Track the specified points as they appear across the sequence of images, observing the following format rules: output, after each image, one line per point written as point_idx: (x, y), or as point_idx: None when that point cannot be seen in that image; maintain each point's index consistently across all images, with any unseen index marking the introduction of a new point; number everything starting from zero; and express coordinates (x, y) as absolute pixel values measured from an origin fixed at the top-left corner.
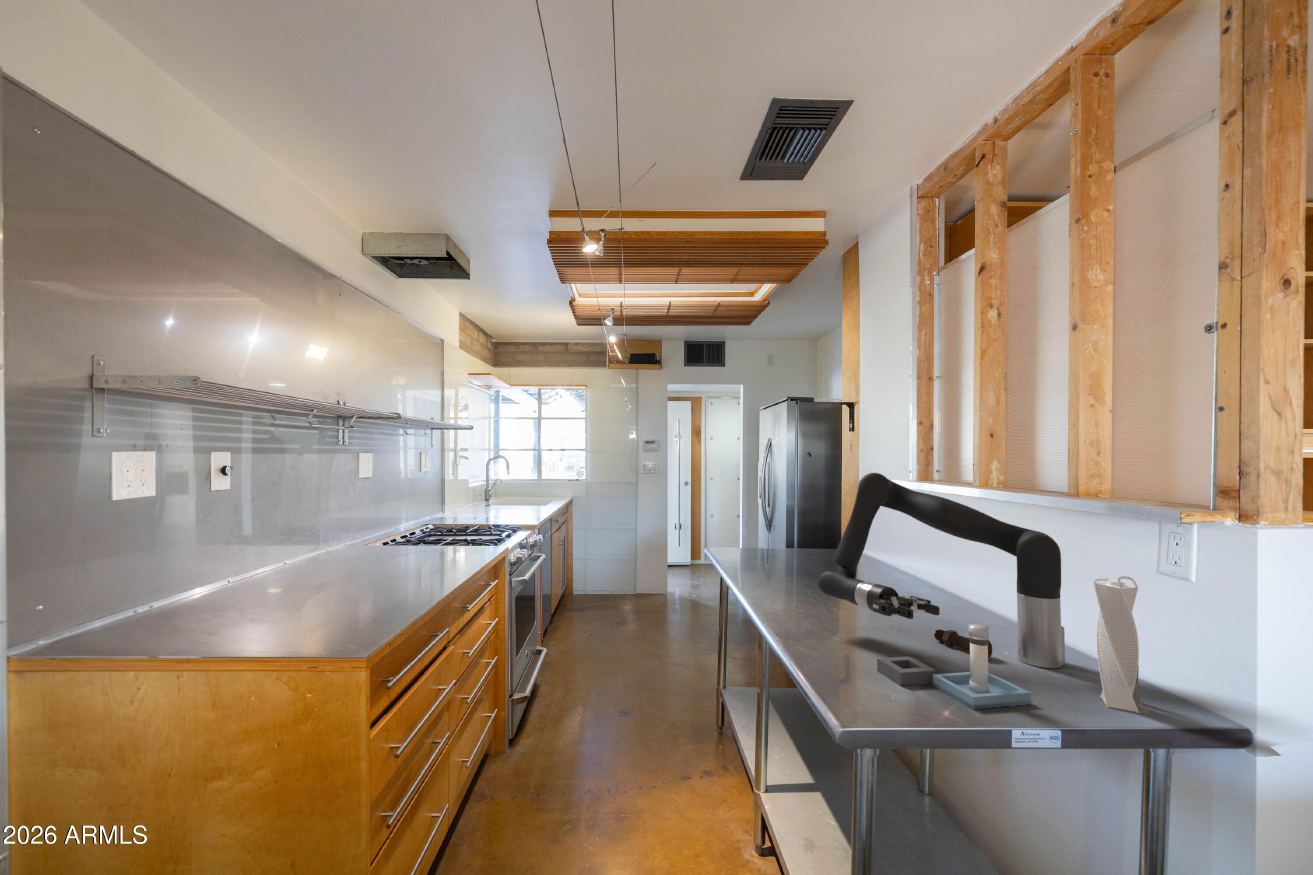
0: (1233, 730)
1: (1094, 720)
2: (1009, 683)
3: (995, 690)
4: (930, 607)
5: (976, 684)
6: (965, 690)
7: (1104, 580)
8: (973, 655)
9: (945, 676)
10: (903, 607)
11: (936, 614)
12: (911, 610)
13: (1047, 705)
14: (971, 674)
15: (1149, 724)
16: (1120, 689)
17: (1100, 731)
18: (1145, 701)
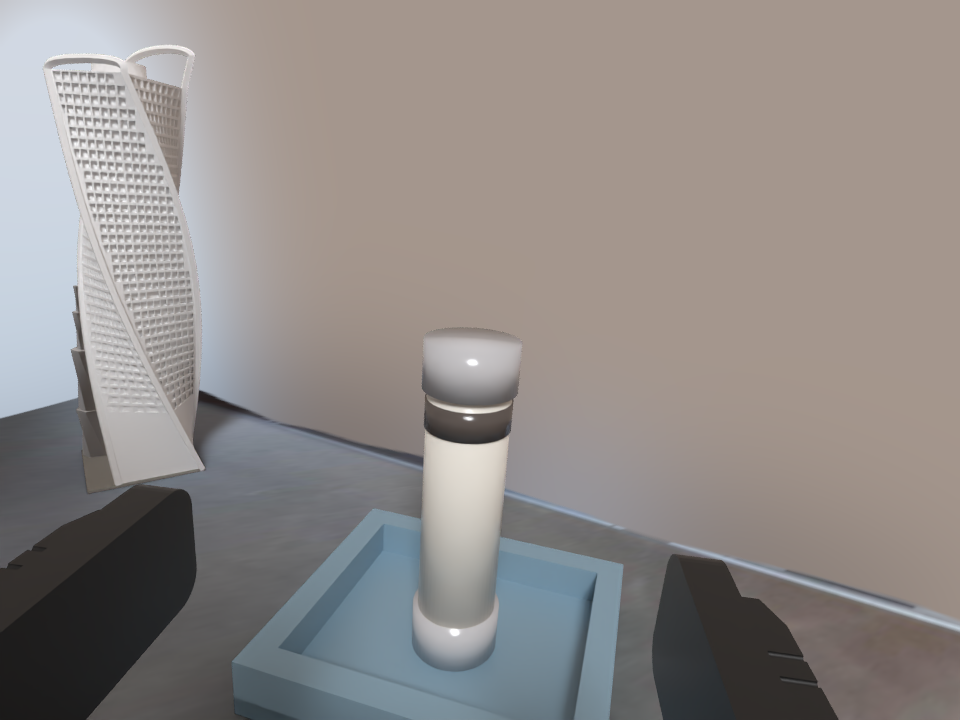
0: None
1: (342, 467)
2: (338, 558)
3: (381, 613)
4: (105, 593)
5: (497, 597)
6: (599, 599)
7: (76, 62)
8: (504, 487)
9: None
10: (754, 681)
11: (188, 588)
12: (698, 557)
13: (331, 526)
14: (493, 585)
15: (261, 430)
16: (188, 406)
17: (403, 454)
18: (67, 447)
